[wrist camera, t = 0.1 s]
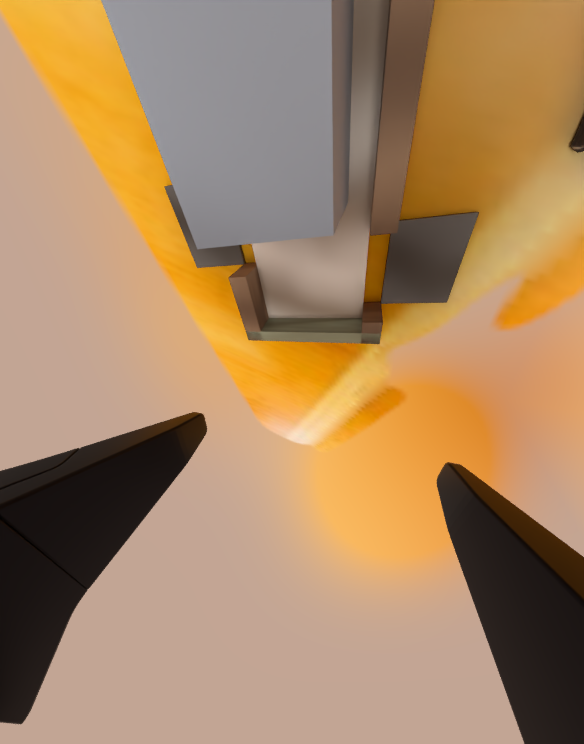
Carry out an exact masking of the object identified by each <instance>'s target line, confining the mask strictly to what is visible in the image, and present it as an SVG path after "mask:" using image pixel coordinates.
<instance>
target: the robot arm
mask: <svg viewBox="0 0 584 744" xmlns="http://www.w3.org/2000/svg"><path fill="white" fill-rule="evenodd" d="M206 432H207V426H206V422H205V417H204V415H203V414H202V413H197V412H192V413H189V414H186V415H183V416H180V417H176V418H173V419H170V420H167V421H164V422H160V423H157V424H154V425H152V426H148V427H145V428H142V429H138V430H135V431H132V432H129V433H126V434H122V435H119V436H116V437H113V438H110V439H106V440H103V441H100V442H97V443H94V444H91V445H88V446H84V447H81V448H80V449H79V448H77V449H73V450H70V451H67V452H64V453H61V454H57V455H54V456H51V457H48V458H44V459H41V460H37V461H34V462H30V463H27V464H24V465H20V466H16V467H13V468H9V469H6V470H2V471H0V722H3V723H13V724H22V723H23V722H24V720H25V719H26V717H27V716H28V714H29V712H30V711H31V709H32V706H33V704H34V702H35V699H36V697H37V695H38V692H39V690H40V688H41V685H42V683H43V681H44V678H45V676H46V674H47V671H48V669H49V666H50V664H51V662H52V659H53V657H54V655H55V652H56V650H57V648H58V645H59V643H60V641H61V638H62V636H63V633H64V631H65V629H66V626H67V624H68V622H69V619H70V617H71V615H72V613H73V611H74V609H75V608H76V606H77V604H78V603H79V601H80V600H81V598H82V597H83V596H84V594H85V593H86V592H87V589H89V588H90V587H91V585H92V584H93V583H94V582H95V580H96V579H97V578H98V576H99V575H100V574H101V573H102V571H103V570H104V569H105V567H106V566H107V565H108V564H109V562H110V561H111V560H112V559H113V557H114V556H115V555H116V554H117V552H118V551H119V550H120V548H121V547H122V546H123V545H124V543H125V542H126V541H127V540H128V538H129V537H130V536H131V534H132V533H133V532H134V531H135V529H136V528H137V527H138V526H139V524H140V523H141V522H142V520H143V519H144V518H145V517H146V515H147V514H148V513H149V512H150V510H151V509H152V508H153V506H154V505H155V504H156V503H157V501H158V500H159V499H160V498H161V496H162V495H163V494H164V493H165V491H166V490H167V489H168V487H169V486H170V485H171V484H172V482H173V481H174V480H175V478H176V477H177V476H178V474H179V473H180V472H181V471H182V470H183V468H184V467H185V466H186V464H187V463H188V461H189V460H190V458H191V457H192V455H193V454H194V452H195V450H196V449H197V447H198V446H199V444H200V443H201V441H202V440H203V438H204V436H205V435H206ZM437 487H438V491H439V496H440V500H441V504H442V508H443V512H444V516H445V521H446V524H447V528H448V531H449V534H450V538H451V540H452V543H453V546H454V548H455V552H456V554H457V557H458V560H459V563H460V565H461V568H462V571H463V574H464V577H465V579H466V582H467V585H468V587H469V590H470V593H471V596H472V599H473V602H474V604H475V607H476V610H477V613H478V616H479V618H480V621H481V624H482V627H483V629H484V632H485V635H486V638H487V641H488V643H489V646H490V649H491V652H492V654H493V657H494V660H495V663H496V666H497V668H498V671H499V674H500V677H501V679H502V682H503V685H504V688H505V691H506V693H507V696H508V699H509V702H510V705H511V707H512V710H513V713H514V716H515V719H516V721H517V724H518V727H519V730H520V732H521V735H522V738H523V741H524V744H584V557H583V556H582V555H580V554H579V553H578V552H576V551H575V550H574V549H572V548H571V547H570V546H568V545H567V544H566V543H564V542H563V541H562V540H560V539H559V538H558V537H556V536H555V535H554V534H552V533H551V532H550V531H548V530H547V529H546V528H544V527H543V526H542V525H540V524H539V523H538V522H536V521H535V520H534V519H532V518H531V517H530V516H528V515H527V514H526V513H524V512H523V511H522V510H520V509H519V508H518V507H516V506H515V505H514V504H512V503H511V502H510V501H508V500H507V499H506V498H504V497H503V496H502V495H500V494H499V493H498V492H496V491H495V490H494V489H492V488H491V487H490V486H488V485H487V484H486V483H484V482H483V481H482V480H481V479H479V478H478V477H477V476H475V475H474V474H473V473H471V472H470V471H468V470H467V469H466V468H464V467H463V466H462V465H459V464H454V463H449V462H448V463H446V464H445V465H444V467H443V468H442V470H441V472H440V474H439V475H438V478H437Z"/></svg>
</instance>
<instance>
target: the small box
mask: <svg viewBox="0 0 584 744" xmlns="http://www.w3.org/2000/svg"><path fill="white" fill-rule="evenodd" d="M571 147H572V148H573V150H575V151H576V152H583V151H584V117H583V119H582V122H581V124H580V127H579V129H578V131H577V133H576V136H575V138H574V140H573V142H572V144H571Z"/></svg>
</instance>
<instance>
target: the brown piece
mask: <svg viewBox="0 0 584 744" xmlns="http://www.w3.org/2000/svg"><path fill="white" fill-rule="evenodd" d="M434 1H435V0H354V16H353V51H352V86H351V122H350V157H349V192H348V204H347V206H346V208H345V210H344V213H343V215H342V217H341V219H340V222H339V224H338V226H337V229H336V231H335V233H334V235H333V236H323V237H313V238H303V239H293V240H284V241H274V242H264V243H254V244H252V247H253V252H254V256H255V260H256V262H255V263H245V259H244V255H243V252H242V248H241V245H234V246H224V247H214V248H205V249H197V247H196V244H195V242H194V239H193V237H192V234H191V231H190V229H189V226H188V224H187V221H186V219H185V216H184V213H183V211H182V208H181V206H180V203H179V200H178V198H177V195H176V193H175V190H174V187H173V185H170V186H165V190H166V192H167V195H168V197H169V200H170V202H171V204H172V207H173V209H174V212H175V214H176V217H177V219H178V222H179V224H180V227H181V229H182V231H183V234H184V236H185V239H186V241H187V244H188V246H189V249H190V251H191V254H192V256H193V258H194V261H195V263H196V266H197V268H201V267H215V266H228V265H242V264H244V265H243V266H242V267H241V268H239V269H238V270H237V271H236V272H235V273H234V274H232V275H231V276H230V277H229V281H230V284H231V287H232V290H233V293H234V296H235V299H236V302H237V305H238V309H239V312H240V315H241V318H242V321H243V324H244V327H245V330H246V333H247V336H248V339H249V340H262V341H296V342H331V343H366V344H379V343H380V337H381V331H382V325H383V320H382V309H381V304H388V303H445V302H447V301H448V298H449V295H450V292H451V289H452V287H453V284H454V281H455V278H456V275H457V273H458V270H459V267H460V264H461V261H462V259H463V256H464V253H465V250H466V248H467V245H468V242H469V239H470V236H471V234H472V231H473V228H474V225H475V222H476V220H477V217H478V214H479V212H470V213H461V214H452V215H443V216H433V217H424V218H415V219H406V220H399V219H400V212H401V206H402V200H403V194H404V187H405V181H406V175H407V169H408V163H409V156H410V150H411V144H412V138H413V131H414V125H415V119H416V113H417V106H418V100H419V94H420V88H421V82H422V75H423V69H424V63H425V57H426V50H427V44H428V38H429V32H430V25H431V19H432V13H433V7H434ZM369 232H370V236H371V235H381V234H391V235H390V242H389V249H388V256H387V263H386V270H385V277H384V284H383V291H382V297H381V302H363V301H364V289H365V278H366V266H367V255H368V243H369Z"/></svg>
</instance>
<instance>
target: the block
mask: <svg viewBox="0 0 584 744" xmlns="http://www.w3.org/2000/svg"><path fill="white" fill-rule="evenodd" d="M101 1H102V3H103V6H104V9H105V11H106V14H107V16H108V19H109V22H110V24H111V27H112V29H113V32H114V35H115V37H116V40H117V42H118V45H119V47H120V50H121V53H122V55H123V58H124V60H125V63H126V66H127V68H128V71H129V73H130V76H131V79H132V81H133V84H134V86H135V89H136V92H137V94H138V97H139V99H140V102H141V104H142V107H143V110H144V112H145V115H146V117H147V120H148V123H149V125H150V128H151V130H152V133H153V136H154V138H155V141H156V143H157V146H158V149H159V151H160V154H161V156H162V159H163V161H164V164H165V167H166V169H167V172H168V174H169V177H170V180H171V182H172V185H173V187H174V190H175V193H176V195H177V198H178V200H179V203H180V206H181V208H182V211H183V213H184V216H185V219H186V221H187V224H188V226H189V229H190V231H191V234H192V237H193V239H194V242H195V244H196V247H197V249H205V248H214V247H224V246H234V245H244V244H254V243H264V242H274V241H284V240H293V239H303V238H313V237H323V236H333V235H334V233H335V231H336V229H337V226H338V224H339V222H340V219H341V217H342V215H343V213H344V210H345V208H346V206H347V204H348V192H349V157H350V122H351V86H352V51H353V16H354V0H101Z"/></svg>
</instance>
